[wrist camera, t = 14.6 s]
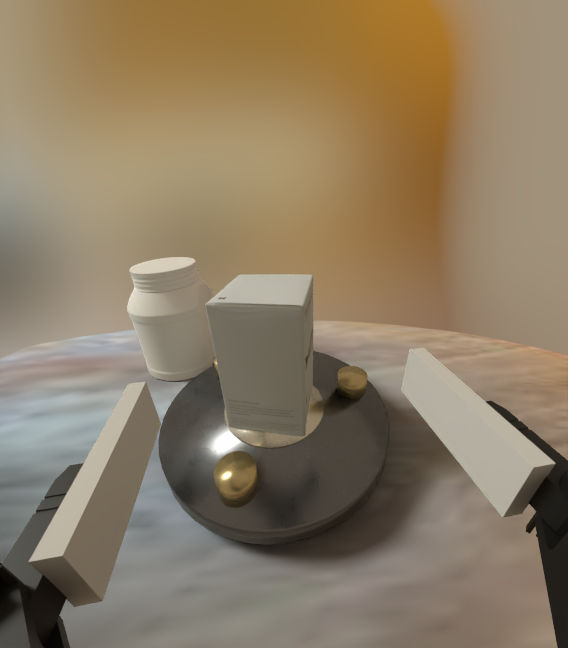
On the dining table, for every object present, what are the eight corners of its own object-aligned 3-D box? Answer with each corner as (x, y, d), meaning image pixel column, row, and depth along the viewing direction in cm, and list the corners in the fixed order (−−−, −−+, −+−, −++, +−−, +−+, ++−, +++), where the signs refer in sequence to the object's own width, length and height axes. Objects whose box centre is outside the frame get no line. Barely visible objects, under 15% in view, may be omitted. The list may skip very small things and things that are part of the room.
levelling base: (112, 507, 22) (87, 465, 20) (230, 359, 41) (225, 328, 39) (390, 605, 16) (404, 563, 14) (381, 380, 35) (386, 344, 33)
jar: (204, 382, 37) (179, 276, 30) (138, 381, 37) (99, 278, 31) (227, 339, 47) (212, 253, 40) (174, 339, 48) (151, 255, 41)
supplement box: (306, 439, 23) (304, 306, 17) (226, 428, 25) (200, 302, 19) (315, 384, 30) (315, 272, 24) (251, 378, 31) (237, 272, 25)
